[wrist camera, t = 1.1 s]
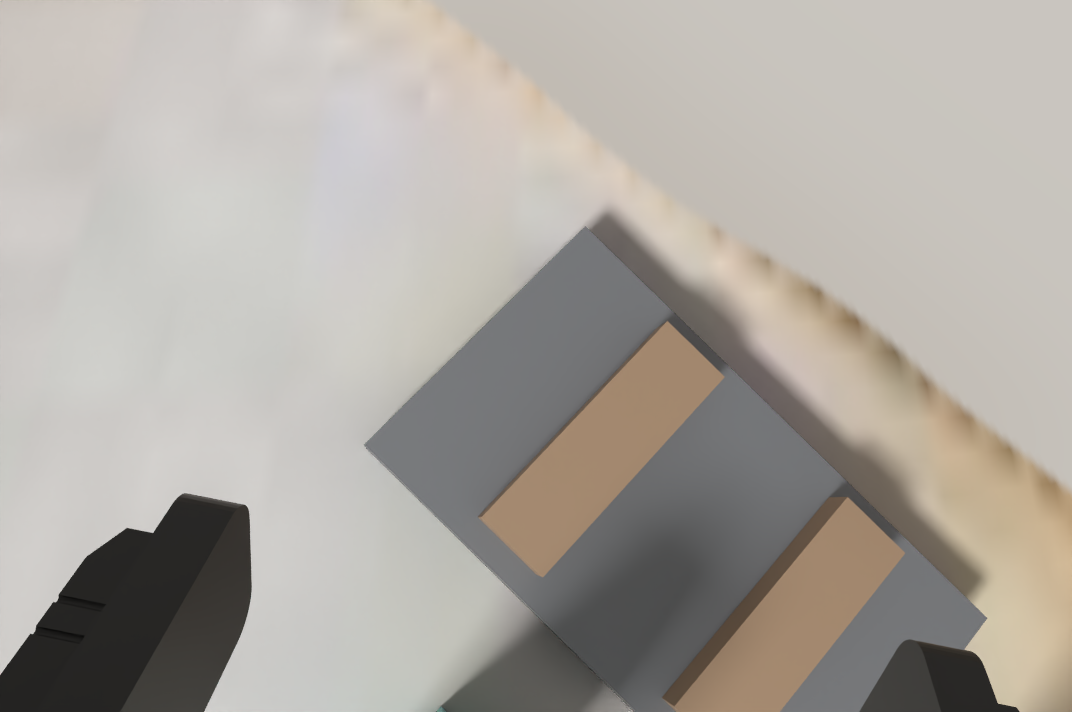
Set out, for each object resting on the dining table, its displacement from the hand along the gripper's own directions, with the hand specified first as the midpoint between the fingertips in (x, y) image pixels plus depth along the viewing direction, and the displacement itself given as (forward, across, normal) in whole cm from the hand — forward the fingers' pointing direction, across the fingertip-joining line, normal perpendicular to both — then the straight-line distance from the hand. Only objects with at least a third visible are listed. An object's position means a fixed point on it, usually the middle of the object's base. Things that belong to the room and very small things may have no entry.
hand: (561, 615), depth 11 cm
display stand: (+19, -6, +16) cm, 26 cm away
